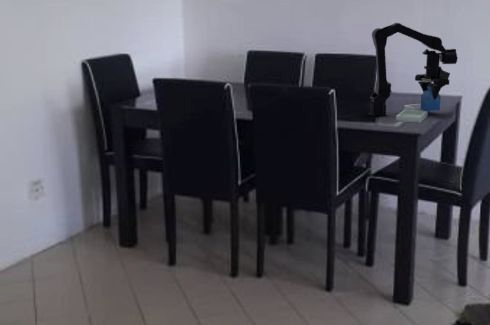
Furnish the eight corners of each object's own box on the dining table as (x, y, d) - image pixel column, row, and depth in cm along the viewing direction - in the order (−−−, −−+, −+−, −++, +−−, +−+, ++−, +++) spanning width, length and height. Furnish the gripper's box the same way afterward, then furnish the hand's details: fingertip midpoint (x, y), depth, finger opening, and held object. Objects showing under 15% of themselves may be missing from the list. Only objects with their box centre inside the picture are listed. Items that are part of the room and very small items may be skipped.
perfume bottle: (420, 108, 304) (421, 83, 301) (431, 107, 306) (433, 82, 303) (428, 111, 299) (429, 85, 296) (439, 110, 301) (441, 84, 298)
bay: (414, 113, 306) (414, 108, 305) (403, 110, 314) (403, 105, 313) (433, 111, 309) (434, 106, 308) (422, 108, 317) (422, 103, 317)
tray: (420, 122, 285) (420, 117, 285) (395, 120, 290) (396, 115, 289) (427, 116, 299) (427, 111, 299) (404, 114, 304) (404, 109, 303)
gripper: (460, 65, 291) (458, 100, 295) (435, 61, 308) (433, 94, 312) (439, 66, 288) (437, 101, 292) (415, 62, 305) (413, 95, 309)
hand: (430, 98), depth 301 cm, fingers closed on perfume bottle, 6 cm apart
